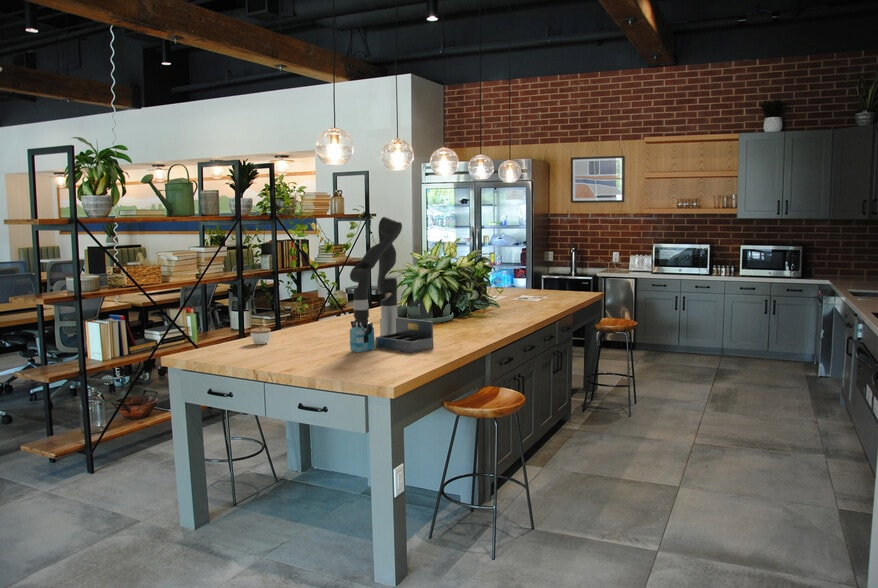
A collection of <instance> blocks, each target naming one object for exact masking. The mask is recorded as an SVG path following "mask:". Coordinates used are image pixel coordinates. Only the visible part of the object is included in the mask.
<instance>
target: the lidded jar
mask: <svg viewBox="0 0 878 588" xmlns="http://www.w3.org/2000/svg"><path fill="white" fill-rule="evenodd" d="M249 332H250V337H251V340H252V342H253V343H254V344H255V345H256V344H264V343H267V344H268V343H269V341H270V340H271V337H272V336H271V335H272V333H271V332H272V329H271V328H268V327H262V326H259V327H258V328H252V329H250V330H249ZM264 345H265V344H264Z"/></svg>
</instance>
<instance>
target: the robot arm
mask: <svg viewBox="0 0 878 588" xmlns="http://www.w3.org/2000/svg"><path fill="white" fill-rule="evenodd" d="M402 229H403V223H402V222H401V221H399V220H397V219H395V218H392V217H390V216H383V217H382V218H381V219H380V220H379V222H378V239H379V240H378V241H379V243H377V244H375V245H373V246H371V247H370V248H369V249H367V251H366V253H365V254H364V255H363V257H362V258H361V260H360V261H359V262H358V263H357V264H356V265H355V266H354V267H353V268H352V269H351V270H350V273H349V278H350V280H351V282H353V283H357V287H355V288H353V307H352V308H353V318H354V320H350V325H351V328H354V327H361V328H362V331H363V333H364V343H367V342H368V335H369V334H371V333H372V327H373V326H374V325H373V324H374V323H373V322H369V319H368V318H370V309H369V307H370V306H369V299H368V298H369V297H368V295H369V294H368V293H369V292H368V291H369V287H370V282H371V281H370V280H371V274H370V271H369V270H372V269H373V268H374V267H375V266H376V264H377V263H378V276H377V291H378V293H379V294H390V295H389V296H387V297H386V298H383V299H381V300H380V318H379V327H380V328H379V329H380V330H379V331H380V334H379V335H380V336H384V335H389V334H393V333H396V318H398V312H397V306H398V280H397V277H396V276H387V274H388V273H389V272H390V271H391V270H392V269H393V268H394V266H395V265H396V263H397V251H396V248H395V246H394V244H393V243H394V242H395V241H396V240H397V238H398V237H399V236H400V234H401V232H402ZM366 327H367V329H364V328H366ZM365 331H366V332H365Z"/></svg>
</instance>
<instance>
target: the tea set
mask: <svg viewBox="0 0 878 588" xmlns="http://www.w3.org/2000/svg"><path fill="white" fill-rule="evenodd" d="M401 304H402V303H401ZM401 304H398V305H397V312H398V318H404V319H410V318H408V317H407V313H408V314H409V315H411V316H414V317H416V316H417V315H419V316H420V315H421V313H420V304H418V307H416V306H415V307H414V306H413V307H411V308H410V307H409V306H406V304H407V303H404V304H405V305H403V306H402V305H401ZM450 312H451V303H450V304H449V303H448V304H447V305H446V306H445V308H444V310H443V314H442V315H443V317H437V318H422V319H413V320H423V321H432V322H433V324H437V323H445V322H448V321H451V320H452V319H454V312H452V314H451V315H450Z"/></svg>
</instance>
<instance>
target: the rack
mask: <svg viewBox="0 0 878 588" xmlns="http://www.w3.org/2000/svg"><path fill="white" fill-rule="evenodd" d="M375 348H376V349H382V350H389V351H394V352H402V353H409V354H415V353H418V352H422V351H423V352H424V351H427V350H430V349H434V323H433V322H432V321H423V320H413V319H404V318H396V333H393V334H389V335H384V336H382V335H380V336H375Z"/></svg>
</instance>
